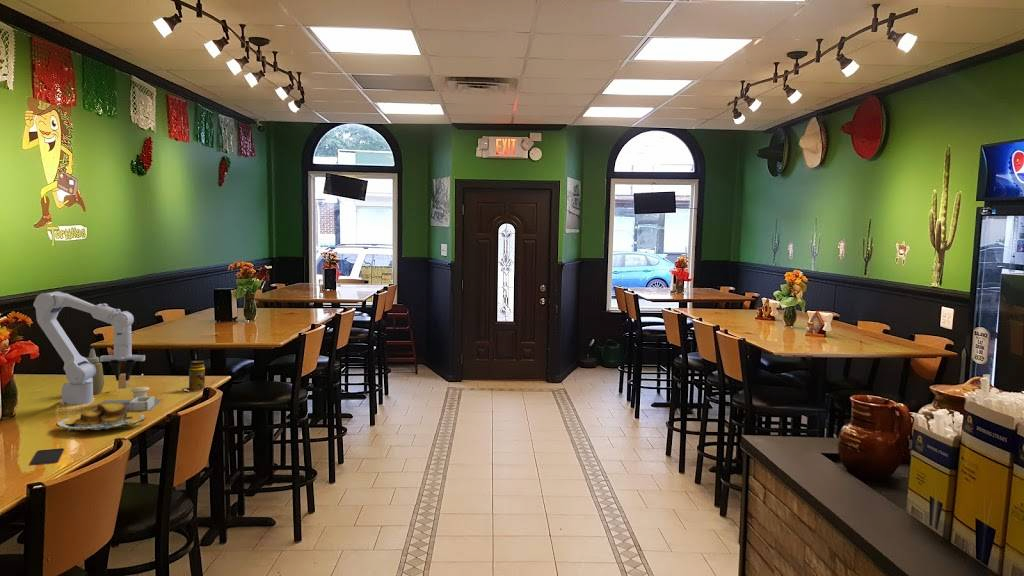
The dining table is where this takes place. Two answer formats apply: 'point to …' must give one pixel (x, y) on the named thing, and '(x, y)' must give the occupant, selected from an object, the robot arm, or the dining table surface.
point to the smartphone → (47, 456)
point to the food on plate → (101, 417)
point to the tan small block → (122, 382)
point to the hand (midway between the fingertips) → (122, 380)
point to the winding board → (137, 400)
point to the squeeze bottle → (98, 377)
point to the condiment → (196, 376)
